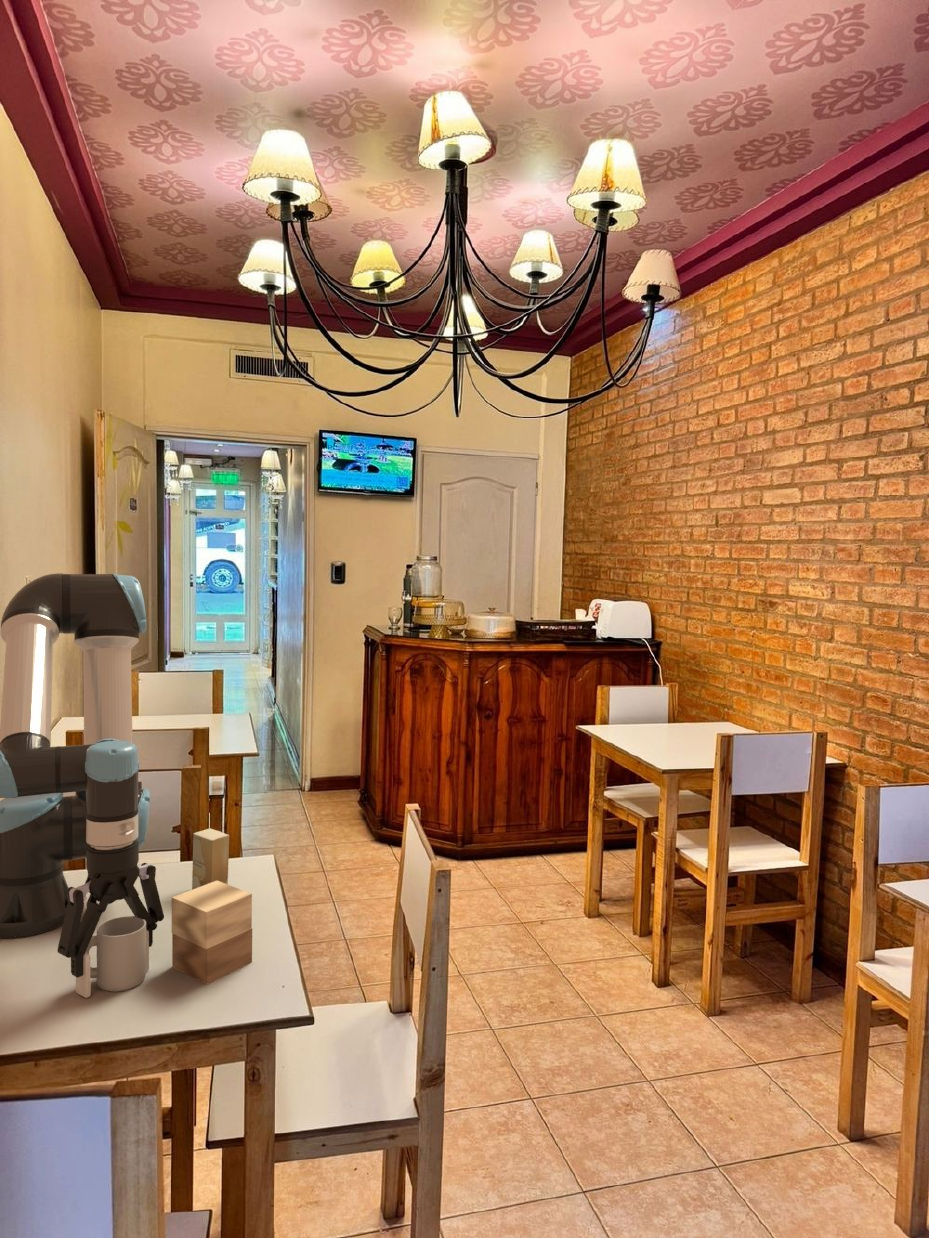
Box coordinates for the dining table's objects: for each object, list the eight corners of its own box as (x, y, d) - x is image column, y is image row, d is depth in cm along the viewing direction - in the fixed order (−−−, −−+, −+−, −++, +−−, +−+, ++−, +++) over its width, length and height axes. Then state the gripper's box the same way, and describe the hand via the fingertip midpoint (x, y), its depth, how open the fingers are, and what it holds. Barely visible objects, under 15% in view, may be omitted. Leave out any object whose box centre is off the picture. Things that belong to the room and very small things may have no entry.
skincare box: (191, 892, 162) (191, 832, 161) (209, 885, 166) (209, 827, 165) (211, 900, 159) (211, 839, 158) (229, 893, 162) (229, 833, 161)
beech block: (171, 932, 132) (171, 897, 132) (216, 914, 140) (217, 880, 139) (206, 949, 127) (206, 912, 127) (251, 928, 134) (251, 893, 134)
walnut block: (172, 967, 133) (172, 932, 132) (217, 947, 140) (217, 913, 140) (207, 985, 128) (207, 948, 127) (252, 963, 135) (252, 928, 135)
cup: (147, 987, 126) (147, 932, 126) (76, 999, 122) (75, 942, 122) (145, 965, 133) (145, 913, 132) (78, 977, 129) (77, 922, 128)
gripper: (56, 868, 115) (57, 1020, 116) (187, 828, 133) (187, 960, 134) (29, 856, 119) (31, 1002, 121) (159, 819, 137) (160, 947, 139)
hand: (113, 980), depth 128 cm, fingers open, 9 cm apart
